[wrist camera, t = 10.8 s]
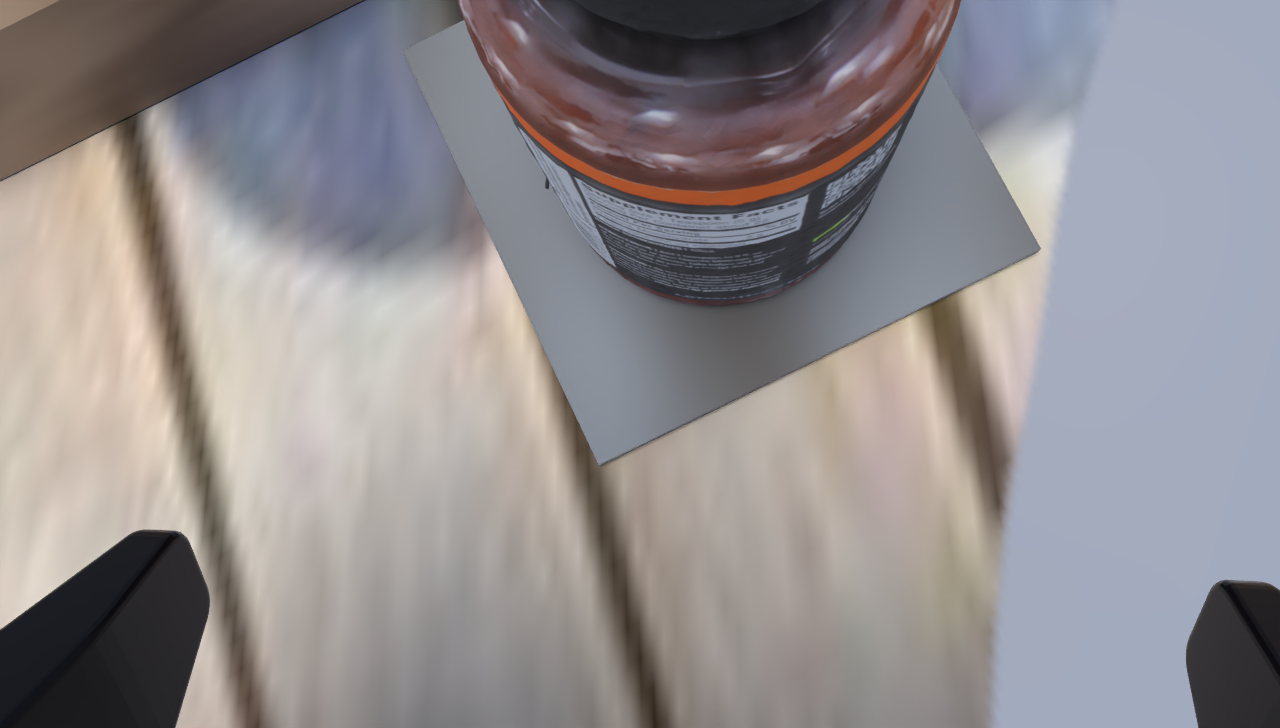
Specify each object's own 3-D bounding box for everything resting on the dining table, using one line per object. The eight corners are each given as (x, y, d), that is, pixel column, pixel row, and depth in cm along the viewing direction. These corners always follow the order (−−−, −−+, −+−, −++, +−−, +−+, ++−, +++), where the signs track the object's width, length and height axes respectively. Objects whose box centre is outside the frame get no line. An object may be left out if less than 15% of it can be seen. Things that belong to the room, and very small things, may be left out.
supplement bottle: (619, -28, 21) (501, -625, 10) (916, 60, 20) (1148, -476, 9) (514, 258, 21) (266, -36, 9) (816, 358, 20) (935, 170, 9)
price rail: (-142, 828, 20) (-350, 906, 17) (-352, 219, 22) (-582, 158, 18) (1104, 219, 20) (1198, 150, 16) (782, -346, 22) (794, -531, 18)
